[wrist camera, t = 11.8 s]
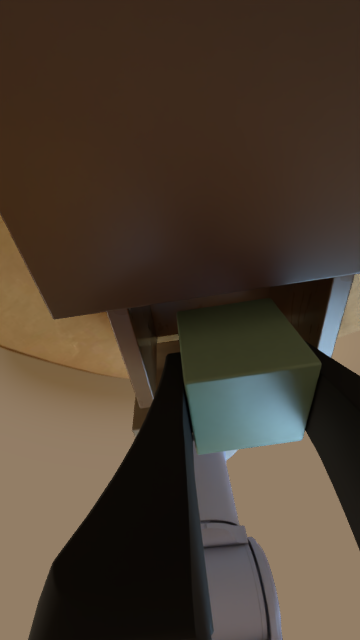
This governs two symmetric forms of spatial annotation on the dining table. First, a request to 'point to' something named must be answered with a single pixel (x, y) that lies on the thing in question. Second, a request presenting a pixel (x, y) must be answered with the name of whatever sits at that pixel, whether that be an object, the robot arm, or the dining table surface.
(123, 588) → the robot arm
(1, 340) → the dining table surface
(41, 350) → the dining table surface
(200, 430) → the block
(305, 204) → the cabinet
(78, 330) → the dining table surface
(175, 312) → the drawer
